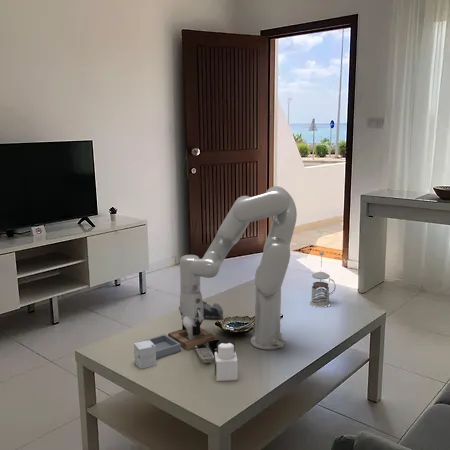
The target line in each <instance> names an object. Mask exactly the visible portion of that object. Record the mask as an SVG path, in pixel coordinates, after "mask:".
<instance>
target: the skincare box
mask: <svg viewBox="0 0 450 450" xmlns="http://www.w3.org/2000/svg"><path fill="white" fill-rule="evenodd" d="M146 340H147V339H146ZM133 347H134V348H133V349H134V350H133V351H134V352H133V353H134V363H135V364H136V365H137V366H138V368H139V369H140V370H142V369H146V368H150V367H154V366H157V360H156V346H155V345H154V344H153V343H152V342H151V341H150V340H147V341H144V340H142V342H141V341H138V342H134V343H133Z"/></svg>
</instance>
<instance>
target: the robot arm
mask: <svg viewBox="0 0 450 450" xmlns="http://www.w3.org/2000/svg"><path fill="white" fill-rule="evenodd" d="M296 207H297V206H296V203H295V201H294V199H293V197H292V195H291V194H290V193H289V192H288V191H287V190H286V189H285V188H284V187H281V186H275V185H274V186H271V187H269V188H268V189H267V190H266V191H265V192H264V193H261V194H257V195H255V196H249V195H241V196H239V197H238V198H237V199H236V200H235V201H234V203H233V204H232V206H231V207H230V210H229V211H228V213H227V215H226V216H225V218H224V219H223V221H222V223H221V225H220V226H219V228H218V230H217V231H216V235H215V237H214V238H213V240H212V242H211V244H210V245H209V247H208V248H207V250H206V252H205V253H204V255H203V257H202V258H200V256H198V255H195V254H185V255H182V256H181V257H180V259H179V274H180V275H179V277H180V280H179V281H180V286H179V287H180V293H179V294H180V295H179V306H178V311H179V313H180V316H181V322H182V323H181V324H182V328H181V329H183V330H186V328H185V327H184V325H183V318H184V316H185V315H186V316H188V317H189V318H191V319H192V321H193V325H194V326H193V336H195V337H197V336H196V335H199V334H200V328H201V325H202V323H203V322H204V321H205V318H203V315H204V312H203V301H204V300H203V296H202V292H201V278H205V279H207V278H208V279H210V278H214V277H216V276H218V274H219V271H220V269H221V266H222V264H223V262H224V260H225V259H226V257H227V256H228V254H229V252H230V251H231V249H232V248H233V247H234V246H235V245H236V244H237V243H238V242H239V241H240V239H241V238H242V236H243V235H244V233H245V231H246V229H247V228H248V226H249V225H250V223H252V222H256V221H257V222H258V221H260V220H265V219H267V218H271V217H272V220H271V224H270V228H269V232H268V235H267V238H266V240H265V242H264V246H263V252H262V256H261V259H260V264H259V265H258V267H257V268H256V270H255V274H254V276H255V277H254V285H255V301H254V302H255V305H254V306H255V307H254V309H255V311H254V313H255V316H254V317H255V319H254V322H255V323H254V332H255V333H254V335H253V336H252V337H251V338H250V343H251V345H252V346H254V348H257V349H261V350H267V351H268V350H271V351H272V350H276V349H280V348H284V346H285V345H286V343H287V340H286V339H284V338H283V333H281V304H282V286H283V284H284V279H285V277H286V273H287V270H288V266H289V264H290V259H291V242H292V239H293V235H294V231H295V226H296V223H297V222H296V221H297V216H298V215H297V214H298V213H297V208H296ZM195 316H197V317H195ZM195 319H197V320H198V321H197V322H196V321H195Z"/></svg>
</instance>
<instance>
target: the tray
mask: <svg viewBox="0 0 450 450" xmlns="http://www.w3.org/2000/svg"><path fill="white" fill-rule="evenodd" d="M147 340H150V341H151V342H152V343H153V344H154V345H155V346H156V361H157V360H160V359H162V358H165V357H169V356H171V355H174V354H179V353H181V352H182V348H181V344H180V343H179V342H177V341H175V340H174V339H172V338H170V337H169V336H168V334H162V335H161V334H160V335H157V336H154V337H152V338H151V337H150V338H148V339H144V340H142V341H147ZM142 341H140V342H142Z"/></svg>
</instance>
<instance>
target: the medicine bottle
mask: <svg viewBox="0 0 450 450" xmlns="http://www.w3.org/2000/svg"><path fill="white" fill-rule="evenodd" d="M238 365H239V364H238V357H237V353H236V343H235V342H234V341H233V340H230V339H222V340H219V341H218V342H217V343H216V351H214V375H215V381H216V382H222V381H225V382H226V381H237V380H238V379H239V376H238V375H239V374H238V373H239V372H238V371H239V369H238V367H239V366H238Z"/></svg>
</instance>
